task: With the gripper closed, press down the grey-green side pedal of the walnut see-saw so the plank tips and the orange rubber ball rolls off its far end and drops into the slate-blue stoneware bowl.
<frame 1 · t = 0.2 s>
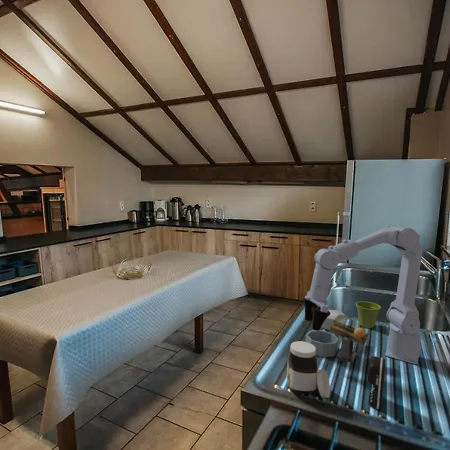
hand: (311, 325, 107), 10 cm above the worktop, tool pointing down, fingers open, 7 cm apart
bowl: (321, 349, 113), on the worktop
lever: (351, 325, 112), point 9 cm above the worktop, hinge at -10.0°, touching ball
plant pot: (366, 325, 134), on the worktop
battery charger: (373, 401, 85), on the worktop
ramekin: (330, 326, 133), on the worktop
ball: (359, 333, 105), point 9 cm above the worktop, touching lever
spread jar: (308, 389, 90), on the worktop
fulcrum: (346, 356, 108), on the worktop
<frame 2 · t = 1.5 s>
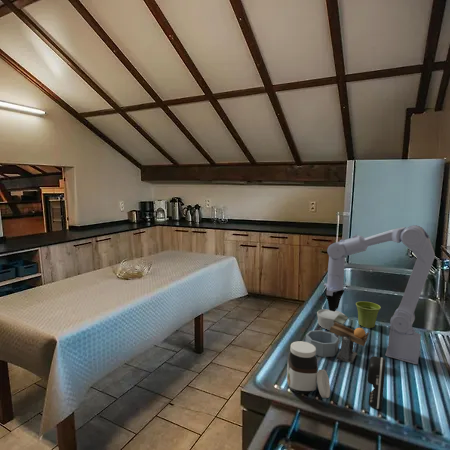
hand: (333, 309, 122), 10 cm above the worktop, tool pointing down, fingers open, 3 cm apart
nothing on the worktop moved.
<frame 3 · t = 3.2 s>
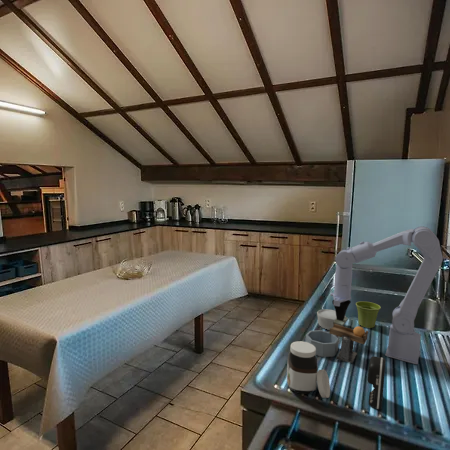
hand: (340, 319, 118), 8 cm above the worktop, tool pointing down, fingers closed, pressing on lever
lever: (350, 325, 112), point 9 cm above the worktop, hinge at -3.3°, touching ball, gripper
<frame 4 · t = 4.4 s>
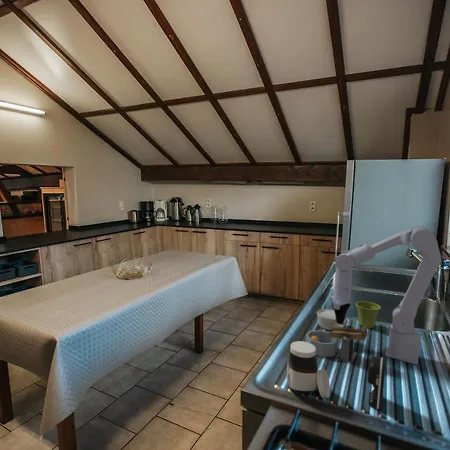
hand: (339, 322, 118), 7 cm above the worktop, tool pointing down, fingers closed, pressing on lever
lever: (350, 326, 112), point 8 cm above the worktop, hinge at 11.3°, touching gripper
ball: (314, 341, 114), point 2 cm above the worktop, tilted 178°, touching bowl
everything else where it was.
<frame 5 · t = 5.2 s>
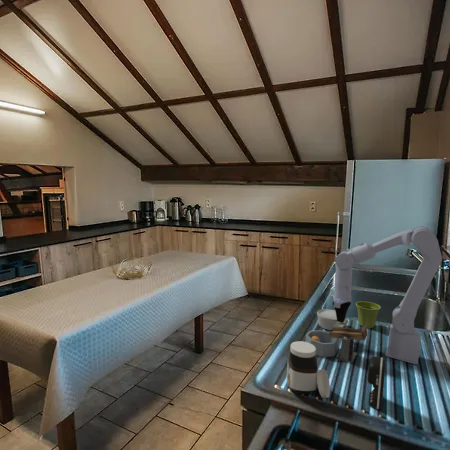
hand: (340, 321, 118), 8 cm above the worktop, tool pointing down, fingers closed
lever: (350, 326, 112), point 8 cm above the worktop, hinge at 11.3°
ball: (315, 341, 114), point 2 cm above the worktop, tilted 167°, touching bowl
everything else where it was.
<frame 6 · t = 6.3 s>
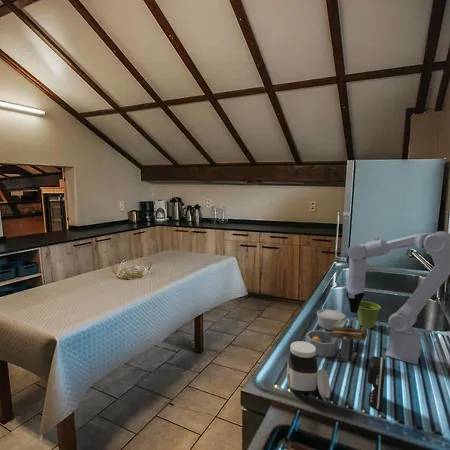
hand: (354, 312, 120), 10 cm above the worktop, tool pointing down, fingers closed
ball: (316, 341, 114), point 2 cm above the worktop, tilted 153°, touching bowl
everything else where it was.
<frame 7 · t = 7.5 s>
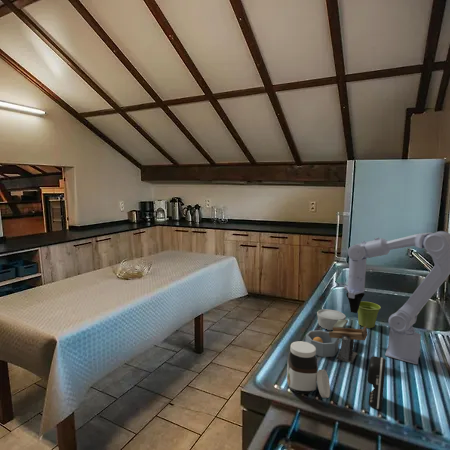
hand: (354, 312, 120), 10 cm above the worktop, tool pointing down, fingers closed
ball: (317, 342, 113), point 2 cm above the worktop, tilted 137°, touching bowl
everything else where it was.
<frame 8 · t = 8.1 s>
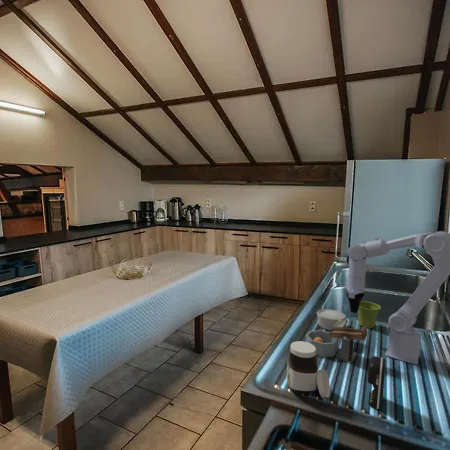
hand: (354, 312, 120), 10 cm above the worktop, tool pointing down, fingers closed
ball: (318, 342, 113), point 2 cm above the worktop, tilted 129°, touching bowl
everything else where it was.
at the end: ball inside the target area on the bowl (1.1 cm from its centre), point 2.1 cm above the bowl's base; lever at +11° (first picture: -10°) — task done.
